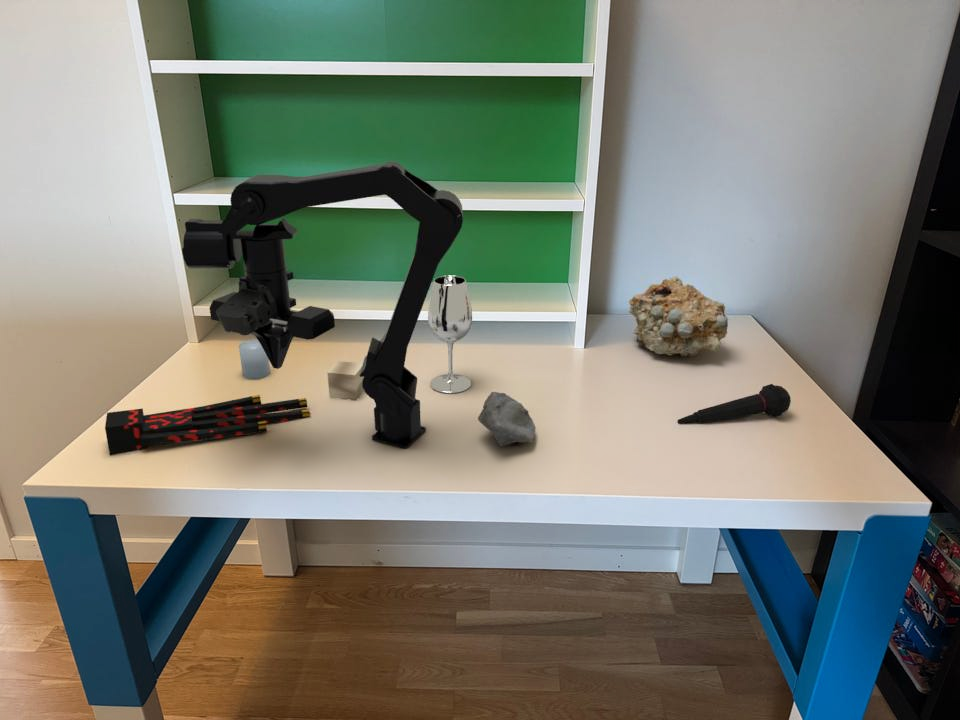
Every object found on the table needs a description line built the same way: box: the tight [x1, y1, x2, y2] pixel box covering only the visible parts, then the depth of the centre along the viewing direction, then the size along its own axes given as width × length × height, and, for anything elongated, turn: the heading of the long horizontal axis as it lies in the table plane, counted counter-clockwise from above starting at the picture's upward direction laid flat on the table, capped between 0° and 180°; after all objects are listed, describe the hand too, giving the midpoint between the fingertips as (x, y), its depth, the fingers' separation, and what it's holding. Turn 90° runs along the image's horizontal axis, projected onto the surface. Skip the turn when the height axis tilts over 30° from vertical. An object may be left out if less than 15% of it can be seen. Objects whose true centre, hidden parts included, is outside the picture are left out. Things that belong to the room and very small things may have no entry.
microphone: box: [677, 383, 792, 424], centre depth 116 cm, size 6×6×20 cm
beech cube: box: [327, 360, 365, 401], centre depth 122 cm, size 5×5×5 cm
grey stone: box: [477, 391, 536, 447], centre depth 107 cm, size 11×9×8 cm
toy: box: [104, 394, 311, 457], centre depth 110 cm, size 8×5×30 cm
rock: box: [628, 275, 729, 357], centre depth 140 cm, size 19×19×15 cm
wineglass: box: [427, 275, 473, 394], centre depth 123 cm, size 8×8×20 cm
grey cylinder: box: [238, 338, 271, 381], centre depth 129 cm, size 5×5×6 cm
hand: (277, 367), depth 104 cm, fingers closed
